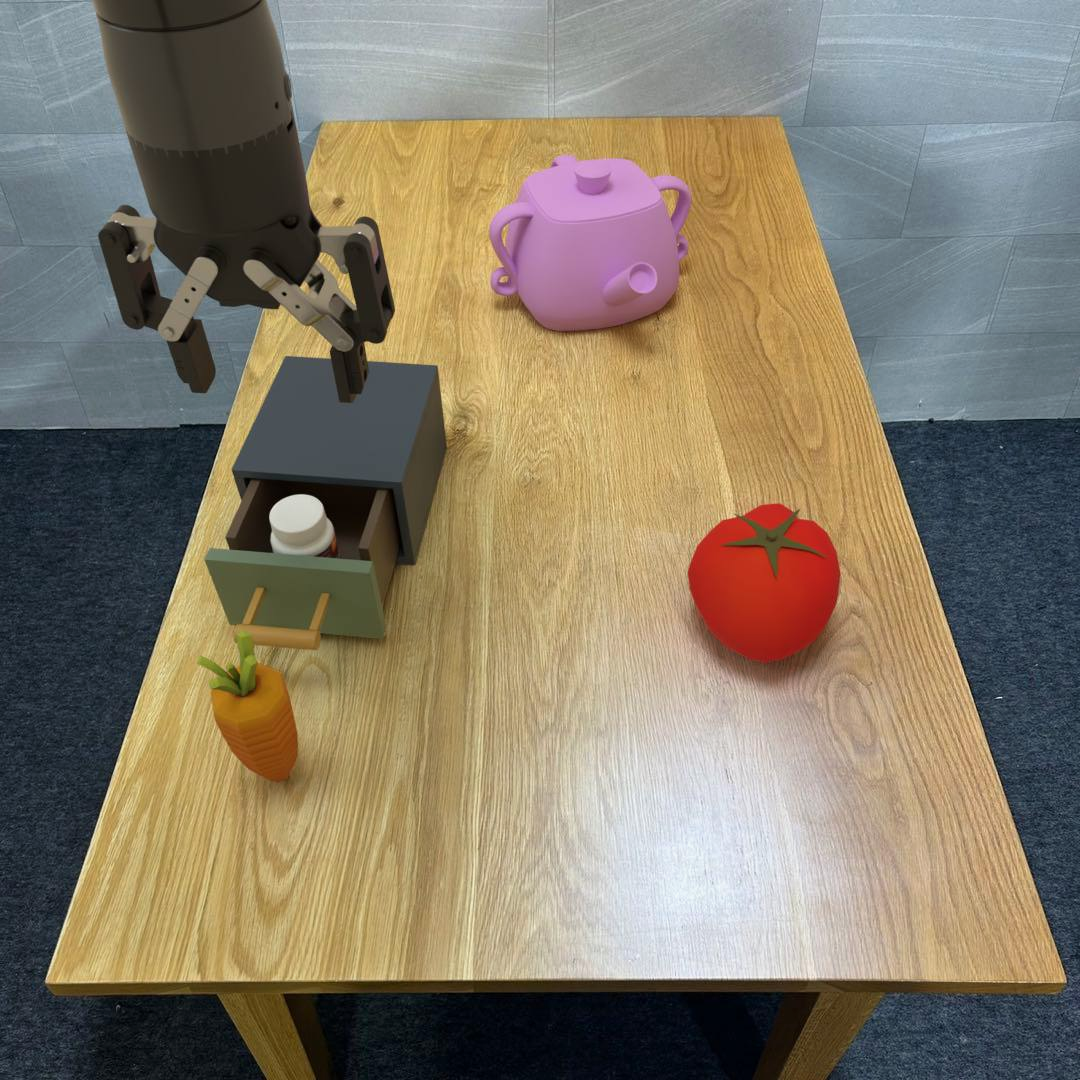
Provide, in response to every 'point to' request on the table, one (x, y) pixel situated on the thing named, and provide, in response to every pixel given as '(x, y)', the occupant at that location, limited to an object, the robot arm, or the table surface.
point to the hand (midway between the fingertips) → (277, 389)
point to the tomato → (765, 582)
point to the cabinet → (353, 436)
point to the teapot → (591, 243)
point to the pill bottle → (302, 528)
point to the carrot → (254, 713)
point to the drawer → (308, 567)
